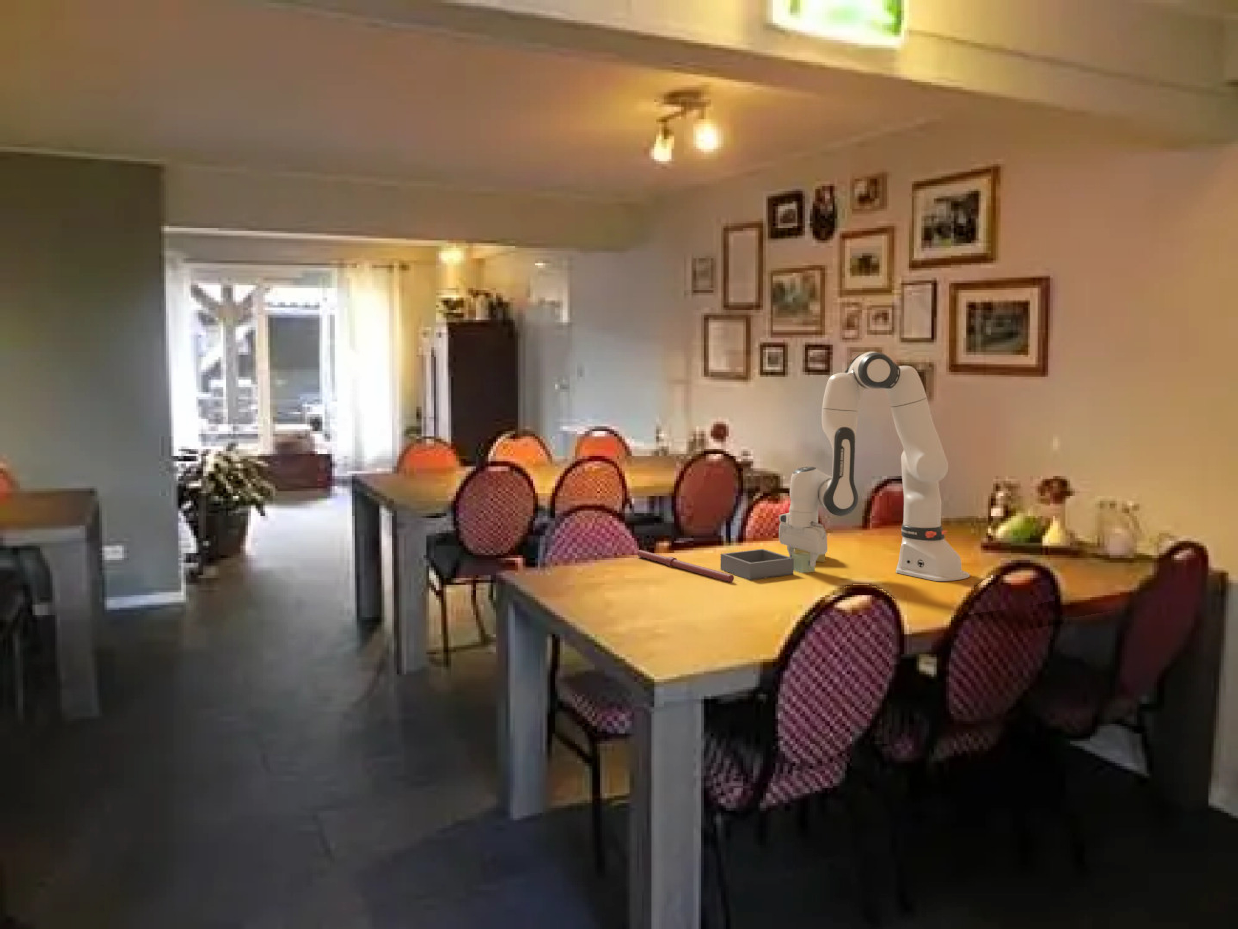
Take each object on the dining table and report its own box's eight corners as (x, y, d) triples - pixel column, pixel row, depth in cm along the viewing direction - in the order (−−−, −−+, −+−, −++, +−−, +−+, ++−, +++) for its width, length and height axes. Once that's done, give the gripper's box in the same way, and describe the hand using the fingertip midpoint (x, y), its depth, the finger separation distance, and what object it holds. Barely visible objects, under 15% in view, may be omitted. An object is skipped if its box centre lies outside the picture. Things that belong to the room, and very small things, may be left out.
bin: (793, 574, 306) (793, 558, 306) (749, 580, 299) (750, 563, 298) (762, 564, 320) (763, 548, 320) (720, 569, 313) (720, 553, 312)
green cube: (814, 571, 310) (815, 555, 310) (801, 573, 308) (801, 557, 308) (804, 568, 315) (804, 552, 314) (791, 570, 313) (792, 554, 312)
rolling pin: (635, 558, 331) (635, 549, 331) (643, 557, 333) (643, 548, 332) (727, 584, 295) (727, 574, 294) (735, 583, 297) (735, 572, 296)
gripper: (833, 524, 302) (831, 569, 304) (792, 513, 320) (790, 556, 322) (816, 525, 299) (815, 571, 301) (775, 515, 317) (774, 558, 319)
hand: (802, 563), depth 311 cm, fingers open, 8 cm apart
